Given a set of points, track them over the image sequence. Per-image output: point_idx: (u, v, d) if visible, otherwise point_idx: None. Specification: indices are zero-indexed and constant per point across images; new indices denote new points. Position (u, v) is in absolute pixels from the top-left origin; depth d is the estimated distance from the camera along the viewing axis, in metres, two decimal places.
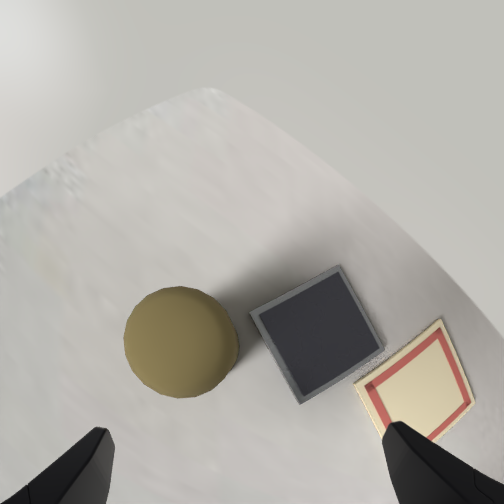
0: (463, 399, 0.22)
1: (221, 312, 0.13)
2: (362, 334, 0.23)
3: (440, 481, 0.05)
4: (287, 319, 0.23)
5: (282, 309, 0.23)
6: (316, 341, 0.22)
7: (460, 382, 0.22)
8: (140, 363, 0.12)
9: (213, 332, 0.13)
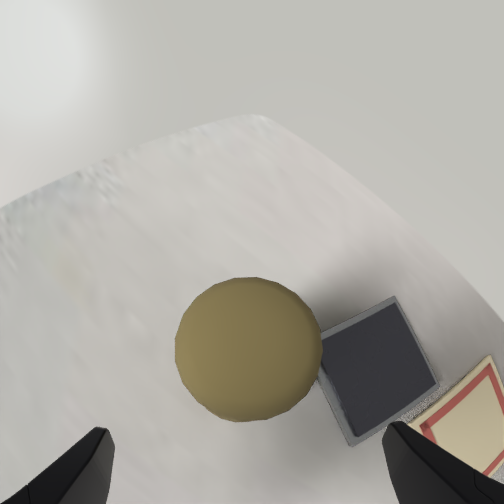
0: None
1: (309, 309, 0.11)
2: (419, 369, 0.19)
3: (440, 481, 0.05)
4: (343, 350, 0.19)
5: (338, 339, 0.19)
6: (373, 376, 0.18)
7: None
8: (201, 367, 0.09)
9: (303, 330, 0.10)
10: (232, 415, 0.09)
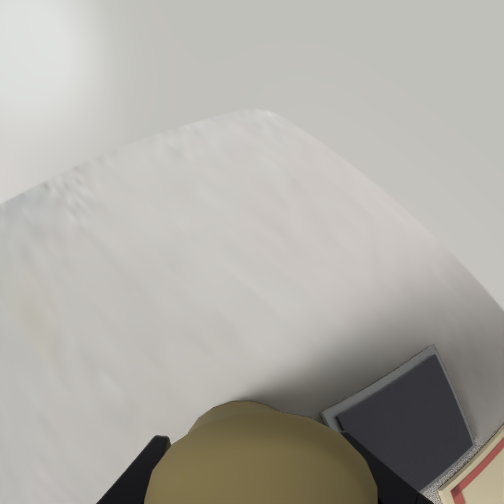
0: None
1: (365, 465, 0.05)
2: (457, 431, 0.13)
3: None
4: (374, 421, 0.13)
5: (368, 408, 0.14)
6: (406, 447, 0.13)
7: None
8: None
9: None
10: None
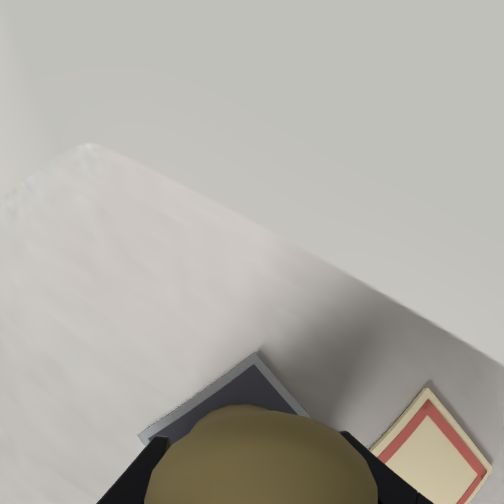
0: (476, 473, 0.13)
1: (365, 465, 0.05)
2: None
3: None
4: None
5: (178, 429, 0.14)
6: None
7: (468, 455, 0.13)
8: None
9: None
10: None
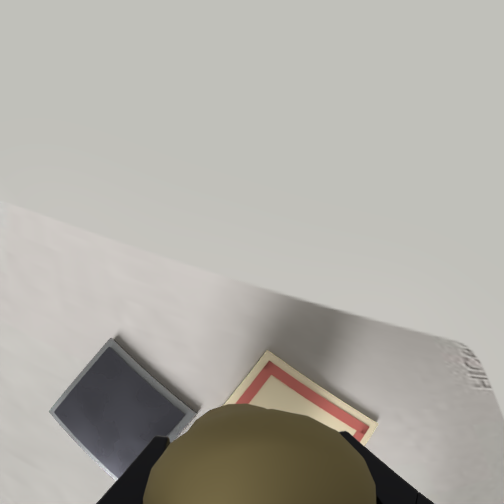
0: (353, 428, 0.18)
1: (363, 463, 0.05)
2: (157, 405, 0.18)
3: None
4: (77, 411, 0.17)
5: (69, 402, 0.17)
6: (110, 426, 0.17)
7: (336, 412, 0.19)
8: None
9: None
10: None
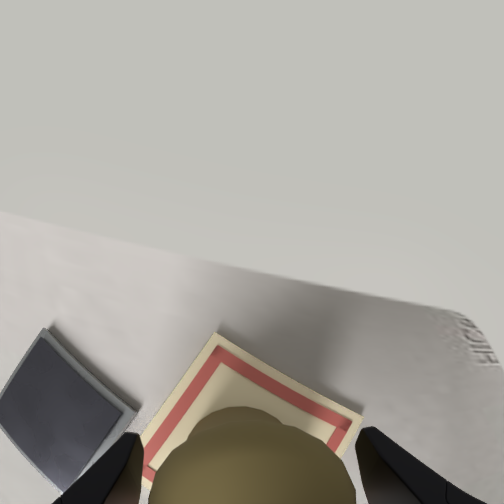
0: (331, 425, 0.15)
1: (343, 470, 0.06)
2: (90, 403, 0.14)
3: (409, 493, 0.05)
4: (12, 411, 0.13)
5: (5, 401, 0.13)
6: (45, 427, 0.13)
7: (307, 405, 0.16)
8: None
9: None
10: None
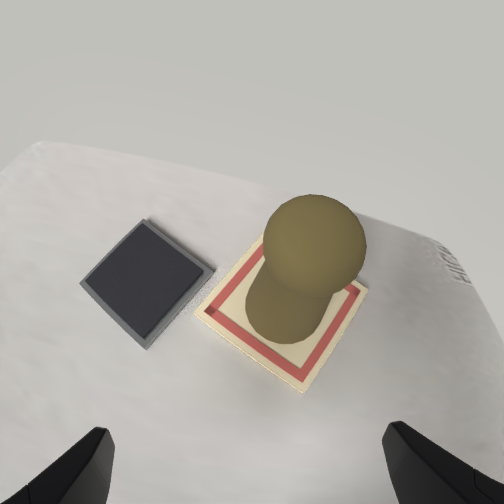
0: (346, 290, 0.24)
1: None
2: (180, 263, 0.24)
3: (440, 481, 0.05)
4: (107, 276, 0.23)
5: (101, 269, 0.23)
6: (136, 285, 0.23)
7: None
8: (290, 242, 0.14)
9: (355, 226, 0.14)
10: (307, 282, 0.14)
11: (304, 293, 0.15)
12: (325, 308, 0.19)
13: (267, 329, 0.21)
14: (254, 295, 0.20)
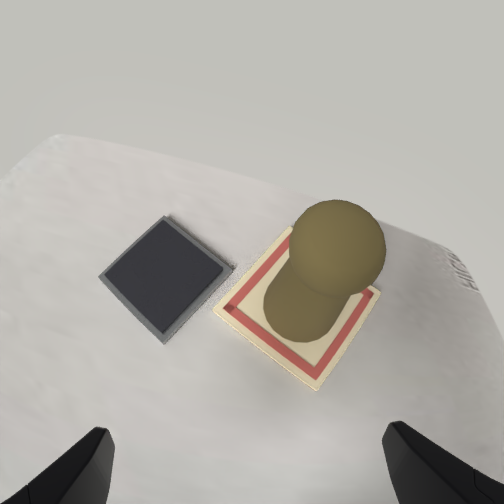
0: (360, 292, 0.25)
1: None
2: (200, 261, 0.25)
3: (440, 481, 0.05)
4: (127, 270, 0.24)
5: (121, 264, 0.24)
6: (156, 280, 0.24)
7: None
8: (317, 244, 0.14)
9: (377, 232, 0.15)
10: (332, 282, 0.14)
11: (327, 293, 0.15)
12: (342, 308, 0.20)
13: (285, 327, 0.22)
14: (274, 294, 0.21)
